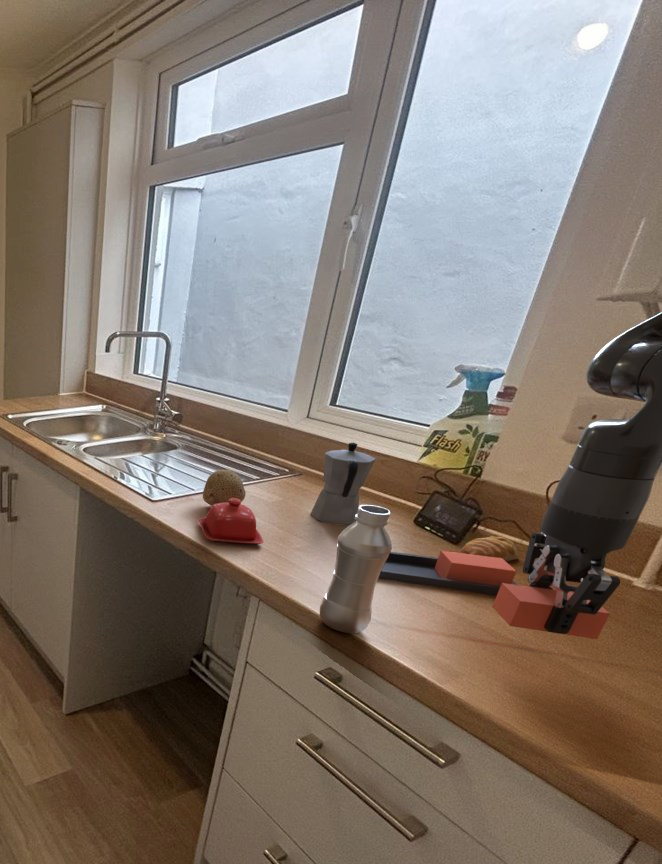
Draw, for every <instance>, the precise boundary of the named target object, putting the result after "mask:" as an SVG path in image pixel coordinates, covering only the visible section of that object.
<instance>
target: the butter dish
mask: <svg viewBox="0 0 662 864" xmlns="http://www.w3.org/2000/svg"><path fill="white" fill-rule="evenodd" d="M228 502H229V503H217V504H214V505H212V506H211V505H210V507H209V509H208V511H207V513H206V516H205V517H200V518H198V523H199V526H200V527H201V530H202V533H203V534H204V536H205V538H206V539H207V540H209V541H213V542H221V543H237V544H253V545H254V544H255V545H261V544H264V539H263V537H262V535H261V534H260V532H259V531H258V529H257V519H256V516H255V514H254V512H253V510H251V508H250V507H248V506H247V505H245V504H242V502H241V501H240V500H239V499H237V498H231V499H229V500H228Z"/></svg>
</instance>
